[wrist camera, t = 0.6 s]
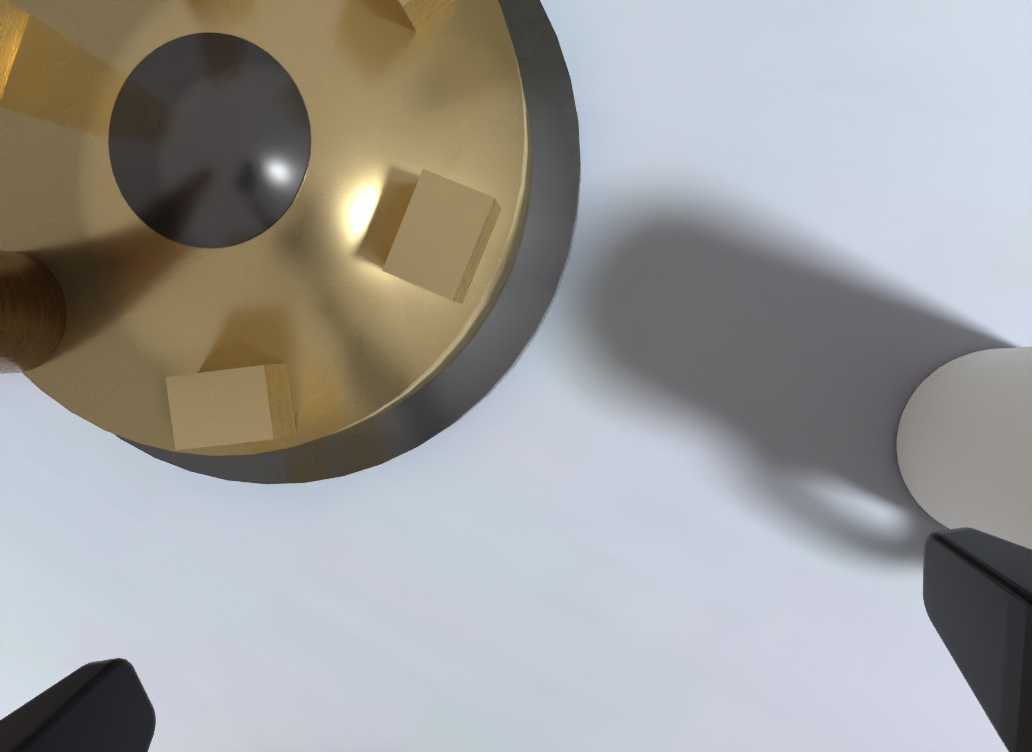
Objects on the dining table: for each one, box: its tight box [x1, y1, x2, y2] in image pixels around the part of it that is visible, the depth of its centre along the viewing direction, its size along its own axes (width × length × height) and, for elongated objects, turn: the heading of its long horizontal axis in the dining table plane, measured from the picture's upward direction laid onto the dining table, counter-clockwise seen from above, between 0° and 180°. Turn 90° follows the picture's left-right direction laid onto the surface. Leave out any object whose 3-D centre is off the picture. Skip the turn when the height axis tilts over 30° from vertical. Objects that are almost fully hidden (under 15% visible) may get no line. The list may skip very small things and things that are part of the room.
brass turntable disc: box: [0, 0, 533, 456], centre depth 15 cm, size 19×18×14 cm
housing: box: [113, 0, 581, 484], centre depth 23 cm, size 21×24×2 cm
